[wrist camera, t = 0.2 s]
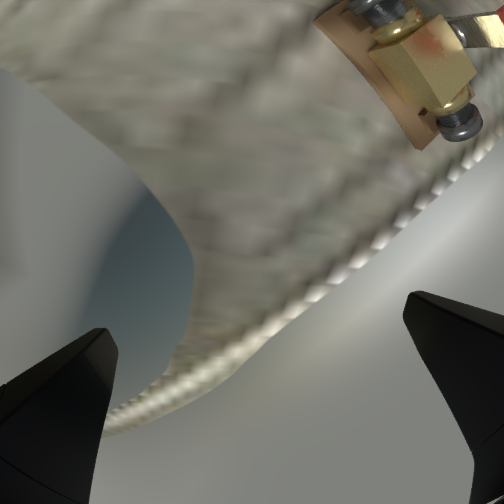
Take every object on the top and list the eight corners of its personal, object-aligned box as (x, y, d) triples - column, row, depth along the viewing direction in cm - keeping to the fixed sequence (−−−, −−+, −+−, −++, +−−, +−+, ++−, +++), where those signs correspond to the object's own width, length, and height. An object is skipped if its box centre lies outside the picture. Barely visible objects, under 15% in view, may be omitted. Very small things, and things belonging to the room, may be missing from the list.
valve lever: (429, 22, 12) (564, 11, 1) (438, 16, 12) (567, 5, 1) (450, 53, 13) (585, 64, 2) (458, 46, 13) (587, 55, 2)
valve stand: (312, 22, 15) (341, -3, 10) (383, -24, 12) (420, -45, 7) (415, 148, 20) (459, 165, 15) (467, 94, 17) (512, 101, 12)
